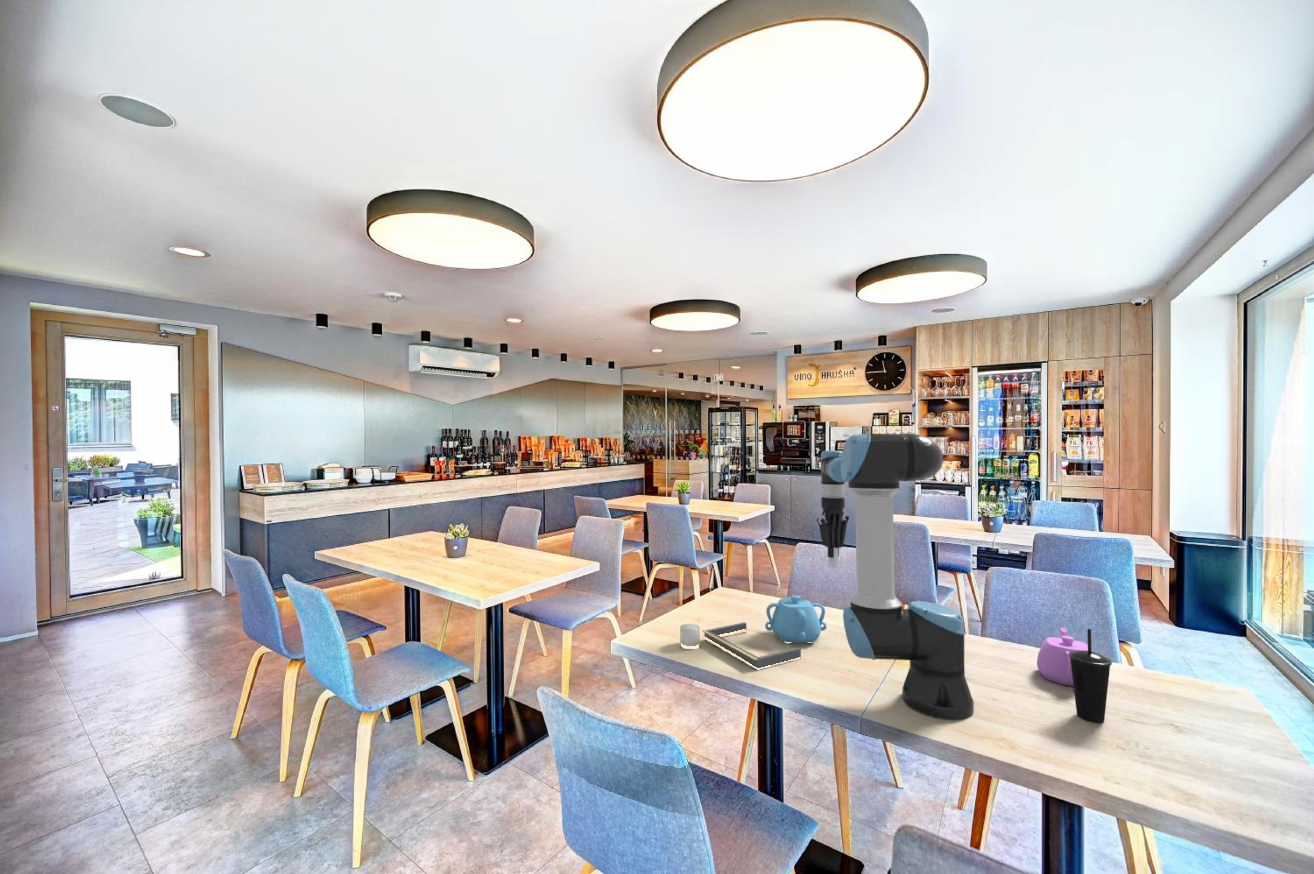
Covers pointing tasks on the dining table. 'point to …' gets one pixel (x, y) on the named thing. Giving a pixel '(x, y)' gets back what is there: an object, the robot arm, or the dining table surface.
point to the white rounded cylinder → (690, 634)
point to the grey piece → (744, 654)
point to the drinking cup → (1090, 682)
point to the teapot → (1058, 658)
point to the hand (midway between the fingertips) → (833, 566)
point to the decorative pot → (796, 620)
